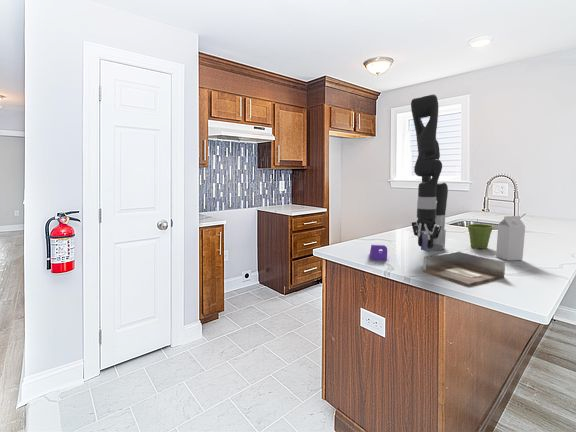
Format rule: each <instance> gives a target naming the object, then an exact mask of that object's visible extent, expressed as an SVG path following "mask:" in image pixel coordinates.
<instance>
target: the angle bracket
mask: <svg viewBox="0 0 576 432" xmlns="http://www.w3.org/2000/svg"><path fill="white" fill-rule="evenodd" d="M430 236H431V235H430ZM427 243H428V236H427V234H421V246H420V250H421V251H424V252H433V251H440V250H439V249H442V250H443V249H444V248H443V245H439V244H433V247H432V248H430V249H429V248H427Z"/></svg>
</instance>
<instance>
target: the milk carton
mask: <svg viewBox="0 0 576 432" xmlns="http://www.w3.org/2000/svg"><path fill="white" fill-rule="evenodd" d="M503 218H504V219H502V220H501V221H500V222H499V223H498V225H497V238H496V239H497V240H496V251H495V257H496V258H500V259H502V260H503V261H523V259H524V256H523V255H524V249H525V248H524V246H525V236H526V235H525V233H526V226H525V224H524V222H523V221H522V220H521V215H508V216H506V215H504V217H503Z"/></svg>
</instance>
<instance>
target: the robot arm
mask: <svg viewBox="0 0 576 432" xmlns="http://www.w3.org/2000/svg"><path fill="white" fill-rule="evenodd" d="M410 107H411V108H410V110H411V115H412V119H413V125H414V129H415V135H416V145H417V152H418V154H417V158H416V162H415V163H414V168H413V169H414V170H413V171H414V173H415V175H416V176H418V177H421V182H420V183H419V184H418V189H417V190H418V191H417V192H418V193H417V200H416V201H417V204H416V218H417V221H412V222H411V227H412V231H413V235H414V236H416V237H417V245H418V247H421V234H427V236H428V243H427V248H429V249H430V248H432V247H433V244H439V245H443V249H445V248H446V234H447V233H446V232H447V230H446V229H445V226H446V211H447V205H448V203H447V202H448V194H449V193H448V192H449V187H448V184H447V183H446V182H440V181H439V178H440V176H441V173H442V170H443V163H442V161H441V160H440V158H441V153H440V145H439V142H438V140H437V129H438V128H437V127H438V121H439V120H438V119H439V101H438V97H437V95H436V94H434V93H433V94H428V95H423V96H419V97H415V98H412V99H411V103H410ZM423 118H429V119H428V122H427V123H426V124H425V125H424V123H423V121H422V119H423ZM430 235H431V236H430ZM443 249H439V250H438V251H441V250H442V251H443Z"/></svg>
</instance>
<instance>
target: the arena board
mask: <svg viewBox="0 0 576 432" xmlns="http://www.w3.org/2000/svg"><path fill="white" fill-rule="evenodd" d="M422 270H423V273H426V274H429V275H432V276H435V277H438V278H441V279H444V280H448V281H450V282H453V283H456V284H460V285H463V286H465V287H473V286H476V285H479V284H480V285H482V284H485V283H488V282H493V281H496V280H500V279H504V278H505V274H504V275H499V274H495V273H491V272H487V271H483V270H480V269H476V268H472V267H468V266H465V265H461V264H455V265H450V266H444V267H439V268H434V269H429V270H424V269H422Z"/></svg>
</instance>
